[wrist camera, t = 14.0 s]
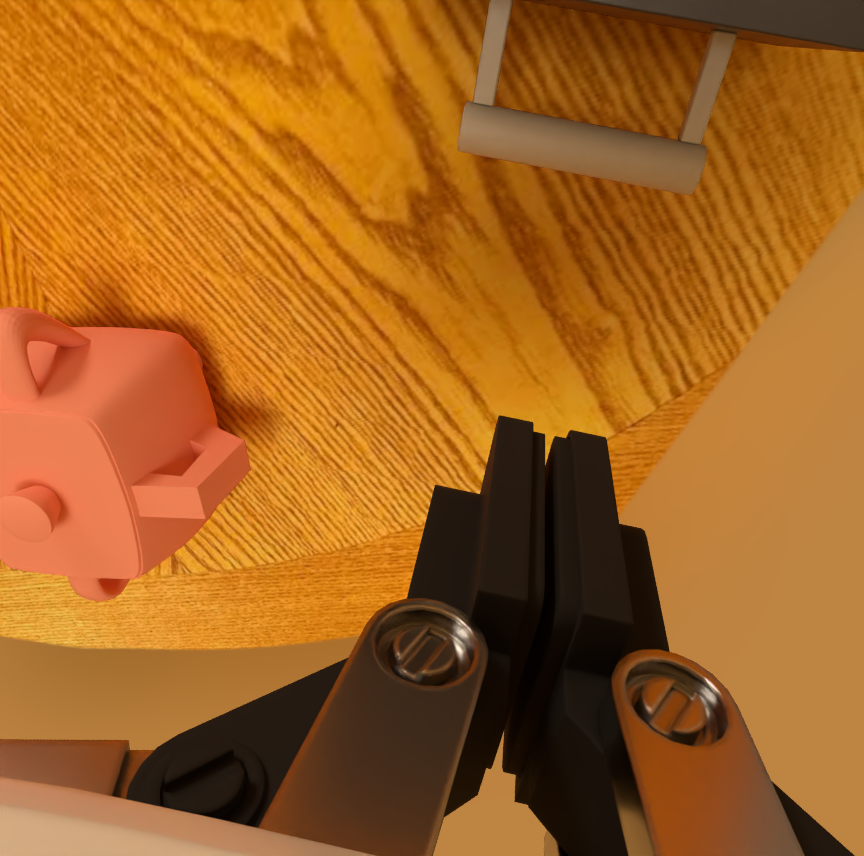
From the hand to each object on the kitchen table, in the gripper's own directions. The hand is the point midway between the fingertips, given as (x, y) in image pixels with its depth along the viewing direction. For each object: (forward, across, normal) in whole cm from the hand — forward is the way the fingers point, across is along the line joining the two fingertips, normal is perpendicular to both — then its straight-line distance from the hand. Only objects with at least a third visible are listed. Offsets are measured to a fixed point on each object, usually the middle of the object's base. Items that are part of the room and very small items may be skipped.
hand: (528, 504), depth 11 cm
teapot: (+19, +18, +12) cm, 29 cm away
